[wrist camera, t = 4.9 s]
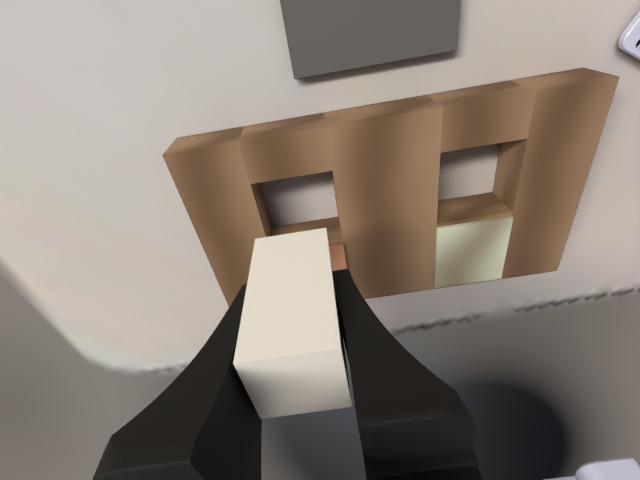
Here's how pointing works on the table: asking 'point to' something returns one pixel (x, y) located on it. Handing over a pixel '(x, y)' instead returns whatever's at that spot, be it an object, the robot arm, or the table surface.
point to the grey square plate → (365, 32)
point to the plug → (292, 328)
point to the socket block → (407, 182)
